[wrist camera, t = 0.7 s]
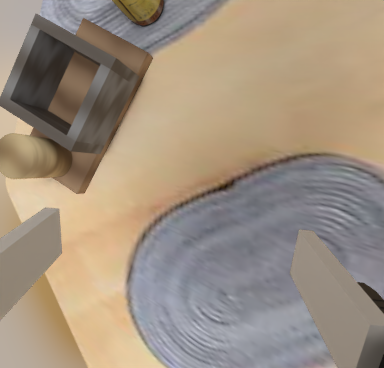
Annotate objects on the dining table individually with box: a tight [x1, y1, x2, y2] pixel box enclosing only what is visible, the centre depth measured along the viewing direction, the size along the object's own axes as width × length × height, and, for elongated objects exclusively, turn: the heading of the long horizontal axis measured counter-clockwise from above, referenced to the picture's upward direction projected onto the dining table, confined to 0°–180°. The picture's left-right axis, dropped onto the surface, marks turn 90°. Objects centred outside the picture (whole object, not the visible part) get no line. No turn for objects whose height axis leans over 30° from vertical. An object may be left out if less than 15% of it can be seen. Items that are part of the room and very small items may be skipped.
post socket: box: [0, 14, 153, 194], centre depth 40 cm, size 24×13×10 cm, turn 149°
